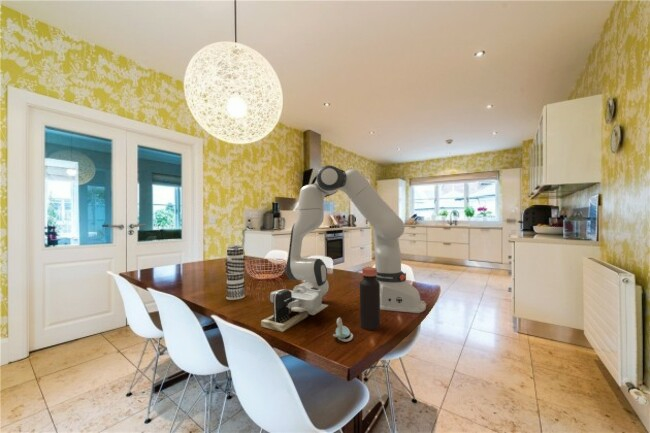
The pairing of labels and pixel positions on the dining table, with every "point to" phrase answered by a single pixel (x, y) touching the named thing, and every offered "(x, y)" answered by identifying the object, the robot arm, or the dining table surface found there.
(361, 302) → the bottle
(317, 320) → the dining table surface
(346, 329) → the pacifier
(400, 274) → the robot arm
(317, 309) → the tile pad
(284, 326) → the beige rectangular frame
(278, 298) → the black upright rounded piece
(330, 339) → the dining table surface
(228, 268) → the decorative candle
